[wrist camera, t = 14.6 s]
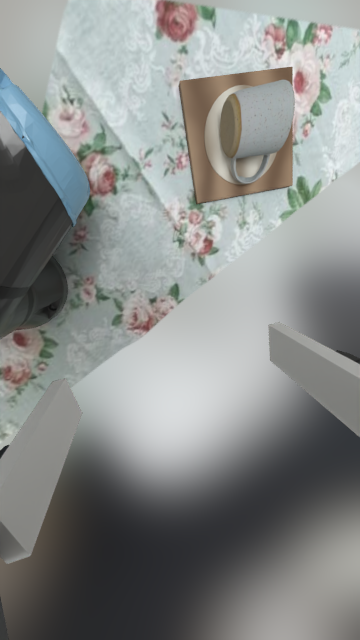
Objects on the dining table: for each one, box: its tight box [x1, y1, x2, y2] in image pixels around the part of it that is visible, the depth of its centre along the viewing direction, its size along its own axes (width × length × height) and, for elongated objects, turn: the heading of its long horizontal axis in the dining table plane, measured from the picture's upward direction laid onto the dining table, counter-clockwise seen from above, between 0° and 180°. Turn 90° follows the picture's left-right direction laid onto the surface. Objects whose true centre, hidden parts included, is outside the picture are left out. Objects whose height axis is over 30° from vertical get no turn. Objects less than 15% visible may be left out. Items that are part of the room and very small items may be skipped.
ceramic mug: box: [220, 80, 295, 184], centre depth 30 cm, size 11×8×8 cm
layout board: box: [179, 67, 292, 204], centre depth 34 cm, size 18×16×1 cm
